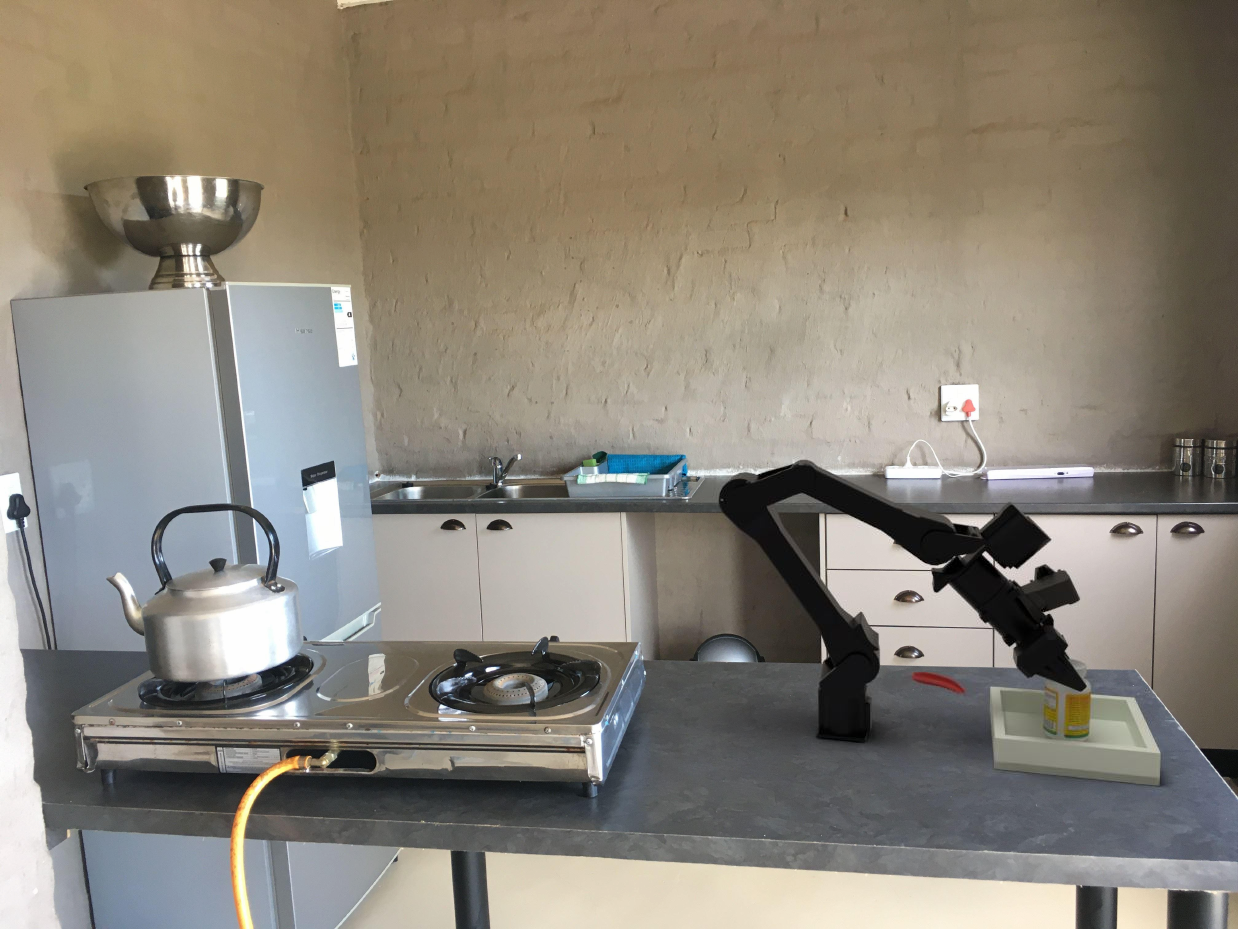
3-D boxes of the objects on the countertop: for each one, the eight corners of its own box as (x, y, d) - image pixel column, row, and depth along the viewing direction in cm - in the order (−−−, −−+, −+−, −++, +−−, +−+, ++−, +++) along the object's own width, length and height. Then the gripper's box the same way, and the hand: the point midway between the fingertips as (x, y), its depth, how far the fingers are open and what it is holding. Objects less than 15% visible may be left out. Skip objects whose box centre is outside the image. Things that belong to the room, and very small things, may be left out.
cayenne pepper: (901, 675, 155) (901, 663, 154) (927, 672, 156) (927, 660, 156) (946, 701, 143) (946, 689, 143) (973, 697, 144) (973, 685, 144)
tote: (994, 768, 120) (995, 737, 120) (989, 713, 137) (990, 686, 137) (1159, 786, 115) (1160, 753, 114) (1133, 726, 131) (1134, 697, 131)
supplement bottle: (1037, 737, 125) (1039, 665, 124) (1050, 724, 129) (1052, 653, 128) (1082, 747, 122) (1085, 673, 121) (1094, 733, 126) (1096, 661, 125)
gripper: (1050, 568, 115) (1150, 665, 113) (1027, 535, 132) (1113, 618, 131) (977, 630, 118) (1074, 725, 116) (964, 589, 136) (1048, 671, 134)
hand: (1079, 681), depth 124 cm, fingers open, 5 cm apart
